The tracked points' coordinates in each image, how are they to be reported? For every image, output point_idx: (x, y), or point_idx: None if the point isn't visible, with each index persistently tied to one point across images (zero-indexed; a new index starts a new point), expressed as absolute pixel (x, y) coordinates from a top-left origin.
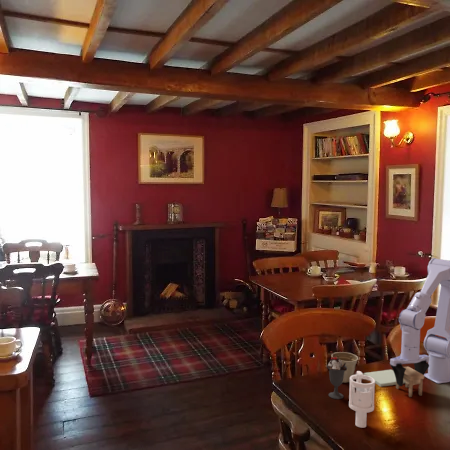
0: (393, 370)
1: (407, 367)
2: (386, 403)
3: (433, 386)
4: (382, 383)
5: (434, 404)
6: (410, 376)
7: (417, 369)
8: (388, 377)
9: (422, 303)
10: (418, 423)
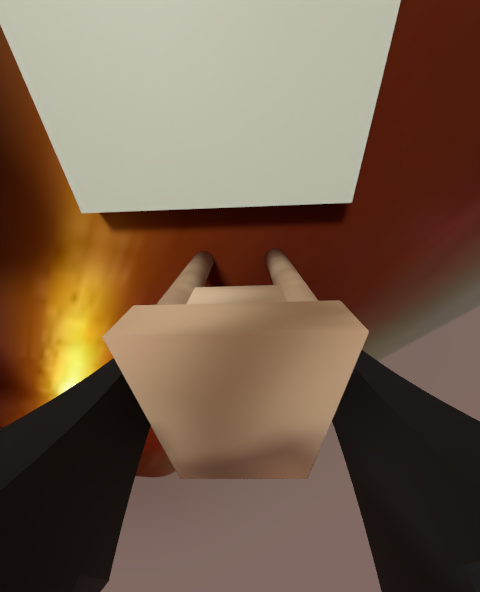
0: (33, 420)
1: (320, 356)
2: (86, 366)
3: (423, 290)
4: (99, 208)
5: None
6: (183, 474)
7: (368, 430)
8: (208, 75)
9: None
10: (146, 442)
